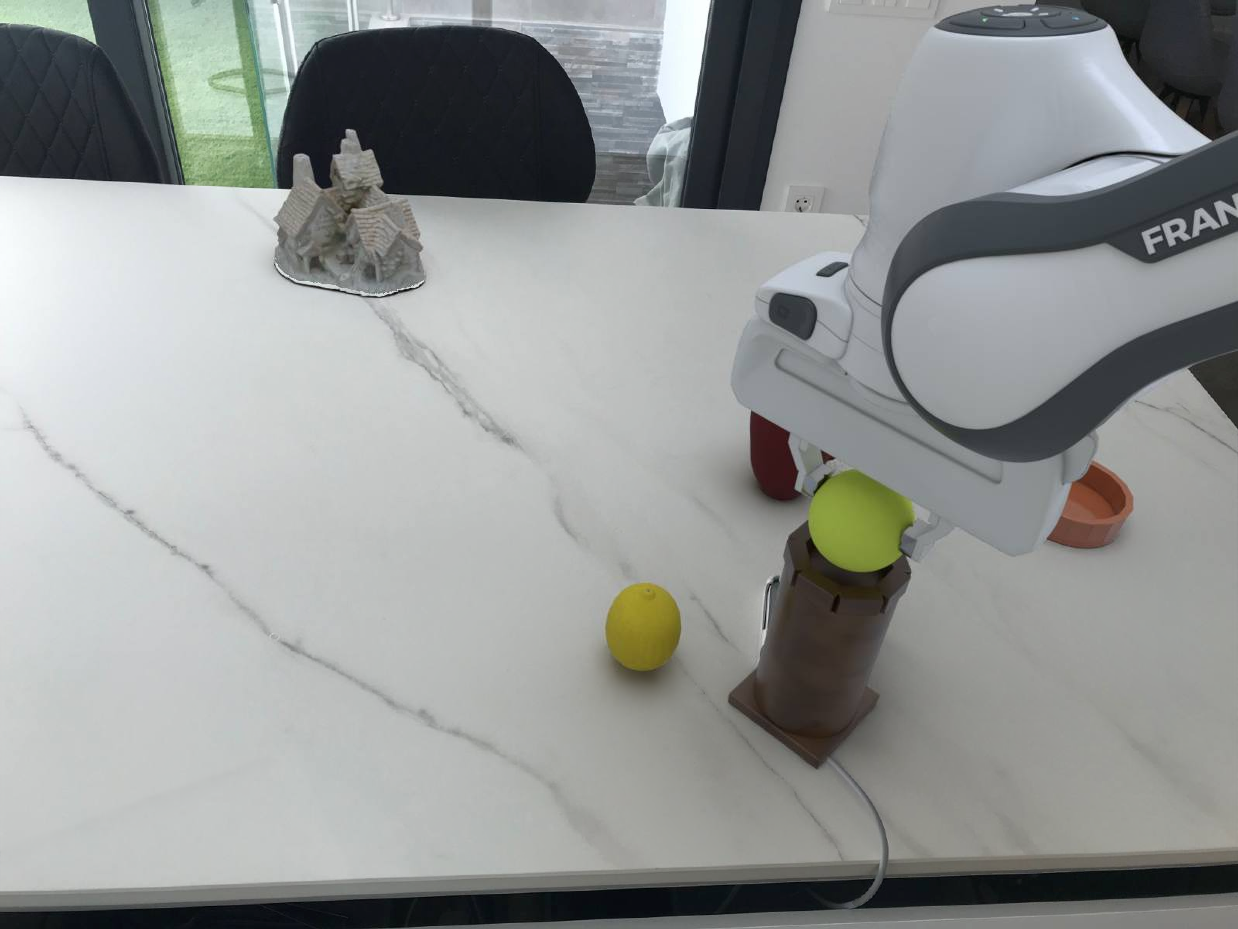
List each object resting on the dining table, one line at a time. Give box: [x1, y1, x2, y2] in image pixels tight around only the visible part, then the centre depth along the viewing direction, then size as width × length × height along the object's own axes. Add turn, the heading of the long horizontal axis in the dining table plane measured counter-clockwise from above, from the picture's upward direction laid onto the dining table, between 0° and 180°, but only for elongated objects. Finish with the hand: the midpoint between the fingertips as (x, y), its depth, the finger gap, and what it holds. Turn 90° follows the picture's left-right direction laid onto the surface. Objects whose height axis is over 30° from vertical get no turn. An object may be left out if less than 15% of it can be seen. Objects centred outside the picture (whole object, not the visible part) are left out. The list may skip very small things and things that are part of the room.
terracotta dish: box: [1046, 459, 1134, 549], centre depth 90 cm, size 10×10×3 cm
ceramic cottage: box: [272, 128, 426, 294], centre depth 111 cm, size 16×16×15 cm
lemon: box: [604, 582, 682, 672], centre depth 72 cm, size 6×6×8 cm
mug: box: [749, 410, 836, 501], centre depth 88 cm, size 11×8×10 cm
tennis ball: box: [807, 468, 916, 572], centre depth 60 cm, size 6×6×6 cm
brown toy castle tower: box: [727, 519, 913, 770], centre depth 67 cm, size 8×8×16 cm
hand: (859, 520), depth 61 cm, fingers closed on tennis ball, 6 cm apart
